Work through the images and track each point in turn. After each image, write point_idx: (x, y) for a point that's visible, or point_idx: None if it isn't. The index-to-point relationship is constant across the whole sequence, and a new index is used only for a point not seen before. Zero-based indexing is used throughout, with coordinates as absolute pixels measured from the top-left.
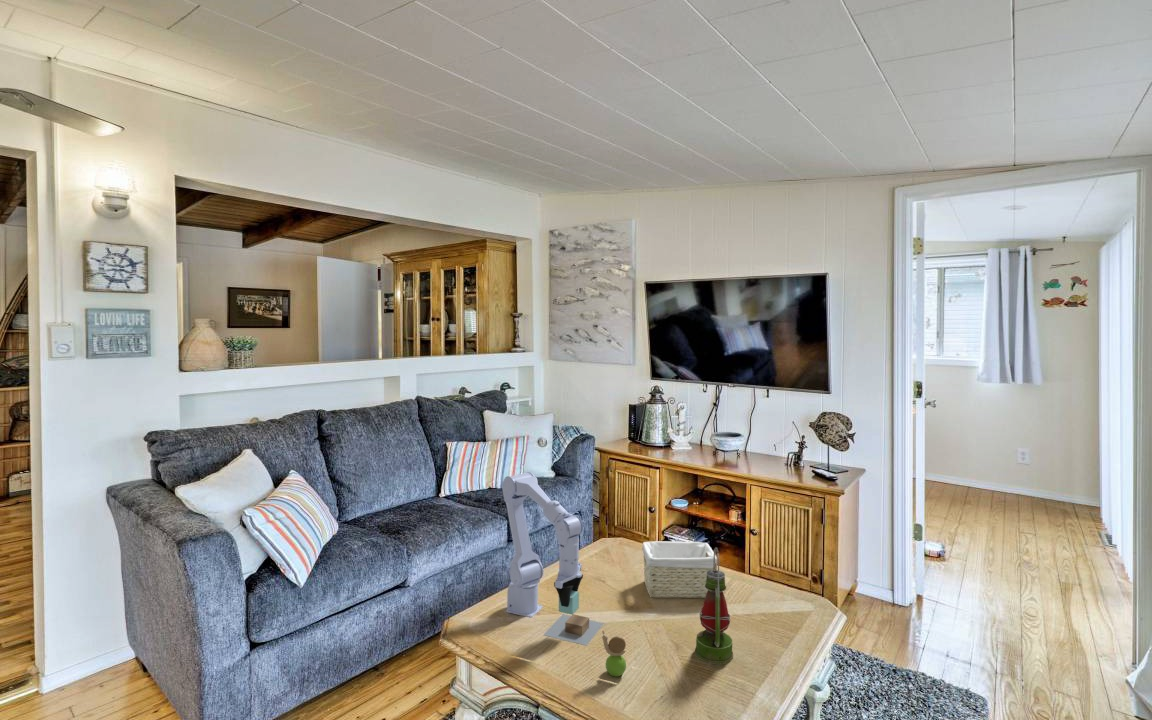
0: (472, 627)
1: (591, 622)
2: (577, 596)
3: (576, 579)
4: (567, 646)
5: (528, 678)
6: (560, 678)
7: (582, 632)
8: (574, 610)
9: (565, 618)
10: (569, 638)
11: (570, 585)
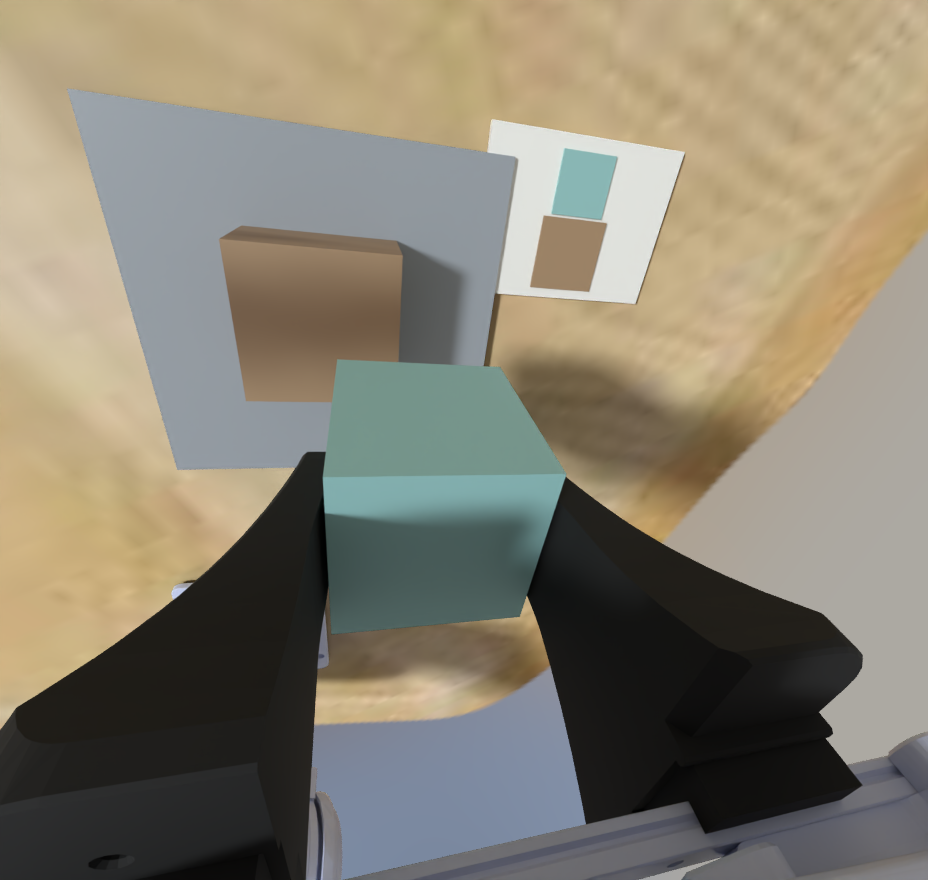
0: (484, 671)
1: (148, 231)
2: (377, 443)
3: (287, 731)
4: (533, 298)
5: (815, 370)
6: (846, 219)
7: (391, 244)
8: (456, 375)
9: (223, 434)
10: (458, 317)
11: (766, 687)
